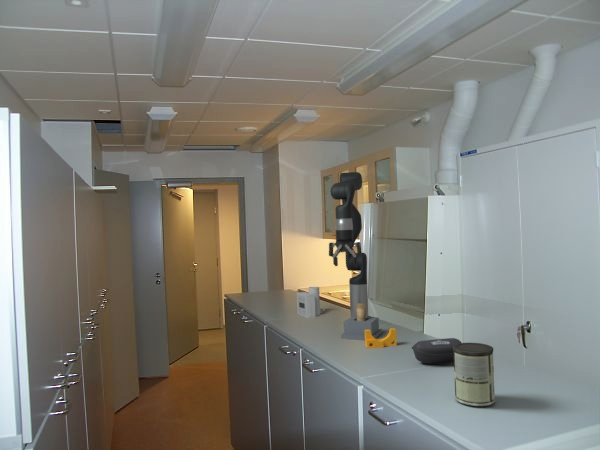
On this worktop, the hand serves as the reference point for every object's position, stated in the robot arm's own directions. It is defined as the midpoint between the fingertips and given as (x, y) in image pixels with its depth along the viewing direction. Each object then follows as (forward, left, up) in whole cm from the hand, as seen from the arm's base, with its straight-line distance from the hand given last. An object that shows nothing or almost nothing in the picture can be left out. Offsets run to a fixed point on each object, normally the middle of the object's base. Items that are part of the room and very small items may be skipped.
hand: (345, 266), depth 211 cm
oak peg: (0, +7, -29) cm, 29 cm away
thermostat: (-39, -32, -30) cm, 59 cm away
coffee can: (+64, +56, -30) cm, 90 cm away
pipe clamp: (+15, +19, -31) cm, 39 cm away
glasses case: (+31, +42, -30) cm, 61 cm away
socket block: (0, +6, -30) cm, 31 cm away
